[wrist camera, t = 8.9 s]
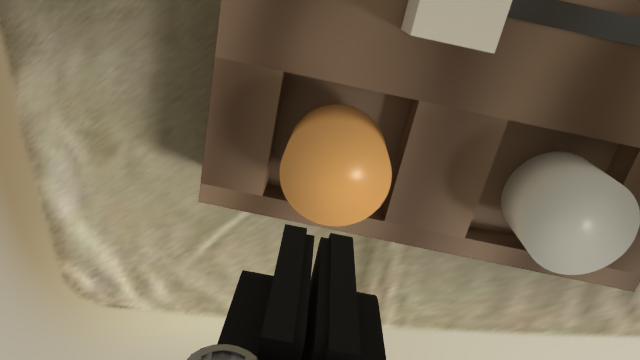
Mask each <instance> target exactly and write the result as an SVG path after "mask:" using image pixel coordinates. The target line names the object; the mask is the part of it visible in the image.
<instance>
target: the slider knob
mask: <svg viewBox="0 0 640 360" xmlns="http://www.w3.org/2000/svg"><path fill="white" fill-rule="evenodd" d="M511 3H512V0H408V4H407V8H406V12H405V16H404V20H403V23H402V27H401V30H403V31H404V32H406V33H408V34H409V35H411V36H416V37H420V38H425V39H429V40H434V41H439V42H443V43H448V44H452V45H457V46H462V47H466V48H471V49H475V50H480V51H484V52H489V53H495V51H496V48H497V45H498V42H499V39H500V36H501V33H502V30H503V27H504V24H505V21H506V18H507V15H508V12H509V9H510V6H511Z"/></svg>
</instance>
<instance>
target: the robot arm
mask: <svg viewBox="0 0 640 360" xmlns="http://www.w3.org/2000/svg"><path fill="white" fill-rule="evenodd" d="M306 232H307V228H302V227H297V226H292V225H286V224H285V228H284V232H283V237H282V242H281V246H280V251H279V255H278V260H277V264H276V269H275V274H274V276H270V275H265V274H260V273H255V272H249V271H244V270H243V271H242V273H241V276H240V279H239V282H238V285H237V288H236V291H235V294H234V297H233V300H232V303H231V305H230V308H229V311H228V314H227V317H226V320H225V323H224V326H223V329H222V332H221V335H220V338H219V341H218V344H217V345H211V346H208V347H204V348H201V349H200V350H198V351H196V352H195V353H193V354H191V356H190V357H189V358H188V359H187V360H386V355H385V348H384V341H383V333H382V326H381V319H380V312H379V304H378V299H377V296H375V295H371V294H365V293H360V292H356V277H355V263H354V249H353V238H352V237H348V236H343V235H338V234H333V233H330V236H329V239H328V238H323V237H321V239H320V242H319V247H318V251H317V255H316V259H315V264H314V268H313V272H312V277H311V269H312V258H313V246H314V236H312V235H307V234H306ZM310 280H311V281H310Z"/></svg>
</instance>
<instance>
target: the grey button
mask: <svg viewBox="0 0 640 360" xmlns="http://www.w3.org/2000/svg"><path fill="white" fill-rule="evenodd" d="M501 208H502V213H503V216H504V218H505V220H506V221H507V223H508V224H509V226H510V227H511V229H512V230H513V231H514V233H515V234H516V236H517V237H518V238H519V240H520V241H521V243H522V244H523V246H524V247H525V248H526V250H527V251H528V253H529V254H530V256H531V257H532V258H533V259H534V260H535V261H536V263H538V264H539V265H540V266H542V267H543V268H545V269H547V270H549V271H552V272H555V273H558V274H564V275H581V274H586V273H591V272H594V271H597V270H599V269H602V268H604V267H606V266H608V265H610V264H611V263H613V262H614V261H616V260H617V259H618V258H619V257H621V256H622V255H623V254H624V253H625V252H626V251H627V249H628V248H629V247H630V246H631V244H632V242H633V241H634V239H635V237H636V235H637V232H638V229H639V225H640V210H639V206H638V203H637V201H636V199H635V197H634V195H633V194H632V193H631V192H630V191H629V190H628V189H627V188H626V187H625V186H623V185H622V184H621V183H619V182H618V181H616V180H615V179H613V178H612V177H610V176H609V175H608V174H606V173H605V172H603V171H602V170H600V169H599V168H597V167H596V166H594V165H593V164H592V163H590V162H589V161H587V160H586V159H584V158H583V157H581V156H578V155H576V154H573V153H569V152H548V153H544V154H541V155H538V156H535V157H533V158H531V159H529V160H527V161H526V162H524V163H523V164H522V165H520V166H519V167H518V168H517V169H516V170H515V171H514V172H513V173H512V174H511V176H510V177H509V179H508V180H507V182H506V184H505V186H504V188H503V192H502V196H501Z"/></svg>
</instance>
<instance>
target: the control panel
mask: <svg viewBox="0 0 640 360" xmlns="http://www.w3.org/2000/svg"><path fill="white" fill-rule="evenodd" d="M407 4H408V0H221V7H220V16H219V24H218V33H217V42H216V51H215V60H214V69H213V78H212V87H211V95H210V104H209V113H208V122H207V131H206V140H205V149H204V158H203V166H202V175H201V184H200V193H199V202H202V203H206V204H211V205H216V206H221V207H226V208H231V209H236V210H240V211H245V212H250V213H255V214H260V215H265V216H269V217H274V218H279V219H284V220H289V221H294V222H299V223H303V224H308V225H313V226H318V227H323V228H328V229H332V230H337V231H342V232H347V233H352V234H357V235H362V236H366V237H371V238H376V239H381V240H386V241H391V242H395V243H400V244H405V245H410V246H415V247H420V248H424V249H429V250H434V251H439V252H444V253H449V254H454V255H458V256H463V257H468V258H473V259H478V260H483V261H487V262H492V263H497V264H502V265H507V266H512V267H517V268H521V269H526V270H531V271H536V272H541V273H546V274H550V275H555V276H560V277H565V278H570V279H575V280H580V281H584V282H589V283H594V284H599V285H604V286H609V287H613V288H618V289H623V290H628V291H633V292H634V291H635V289H636V287H637V286H638V284H639V282H640V225H639V229H638V232H637V235H636V237H635V239H634V241H633V242H632V244H631V246H630V247H629V248H628V249H627V251H626V252H625V253H624V254H623V255H622V256H621V257H619V258H618V259H617V260H616V261H614V262H613V263H611V264H610V265H608V266H606V267H604V268H602V269H599V270H597V271H594V272H591V273H586V274H581V275H564V274H558V273H555V272H552V271H549V270H547V269H545V268H543V267H542V266H540V265H539V264H538V263H536V261H535V260H534V259H533V258H532V257H531V256H530V254H529V253H528V251H527V250H526V248H525V247H524V246H523V244H522V243H521V241H520V240H519V238H518V237H517V236H516V234H515V233H514V231H513V230H512V229H511V227H510V226H509V224H508V223H507V221H506V220H505V218H504V216H503V213H502V208H501V196H502V192H503V188H504V186H505V184H506V182H507V180H508V179H509V177H510V176H511V174H512V173H513V172H514V171H515V170H516V169H517V168H518V167H519V166H520V165H522V164H523V163H524V162H526V161H527V160H529V159H531V158H533V157H535V156H538V155H541V154H544V153H548V152H569V153H573V154H576V155H578V156H581V157H583V158H584V159H586V160H587V161H589V162H590V163H592V164H593V165H594V166H596V167H597V168H599V169H600V170H602V171H603V172H605V173H606V174H608V175H609V176H610V177H612V178H613V179H615V180H616V181H618V182H619V183H621V184H622V185H623V186H625V187H626V188H627V189H628V190H629V191H630V192H631V193H632V194H633V195H634V197H635V199H636V201H637V203H638V206H639V210H640V0H512V3H511V6H510V9H509V12H508V15H507V18H506V21H505V24H504V27H503V30H502V33H501V36H500V39H499V42H498V45H497V48H496V51H495V53H489V52H484V51H480V50H475V49H471V48H466V47H462V46H457V45H452V44H448V43H443V42H439V41H434V40H429V39H425V38H420V37H416V36H411V35H409V34H408V33H406V32H404V31H403V30H401V27H402V23H403V20H404V16H405V12H406V8H407ZM331 104H343V105H349V106H352V107H355V108H357V109H360V110H362V111H363V112H365V113H366V114H368V115H369V116H370V117H371V118H372V119H373V120H374V121H375V122H376V123H377V125H378V126H379V128H380V130H381V132H382V134H383V137H384V140H385V144H386V148H387V152H388V155H389V159H390V164H391V169H392V180H391V185H390V189H389V192H388V195H387V197H386V198H385V200H384V202H383V203H382V205H381V206H380V207H379V208H378V209H377V210H376V211H375V212H374V213H373V214H372V215H370V216H369V217H367V218H366V219H364V220H362V221H360V222H357V223H354V224H351V225H346V226H326V225H321V224H318V223H315V222H312V221H310V220H308V219H306V218H305V217H303V216H302V215H300V214H299V213H298V212H297V211H296V210H295V209H294V208H293V207H292V206H291V205H290V204H289V202H288V201H287V199H286V197H285V195H284V193H283V191H282V187H281V183H280V174H279V171H280V164H281V160H282V157H283V154H284V152H285V149H286V147H287V144H288V142H289V139H290V137H291V134H292V132H293V130H294V128H295V126H296V125H297V123H298V122H299V121H300V120H301V119H302V118H303V117H304V116H305V115H306V114H308V113H309V112H310V111H312V110H314V109H316V108H319V107H321V106H325V105H331Z"/></svg>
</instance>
